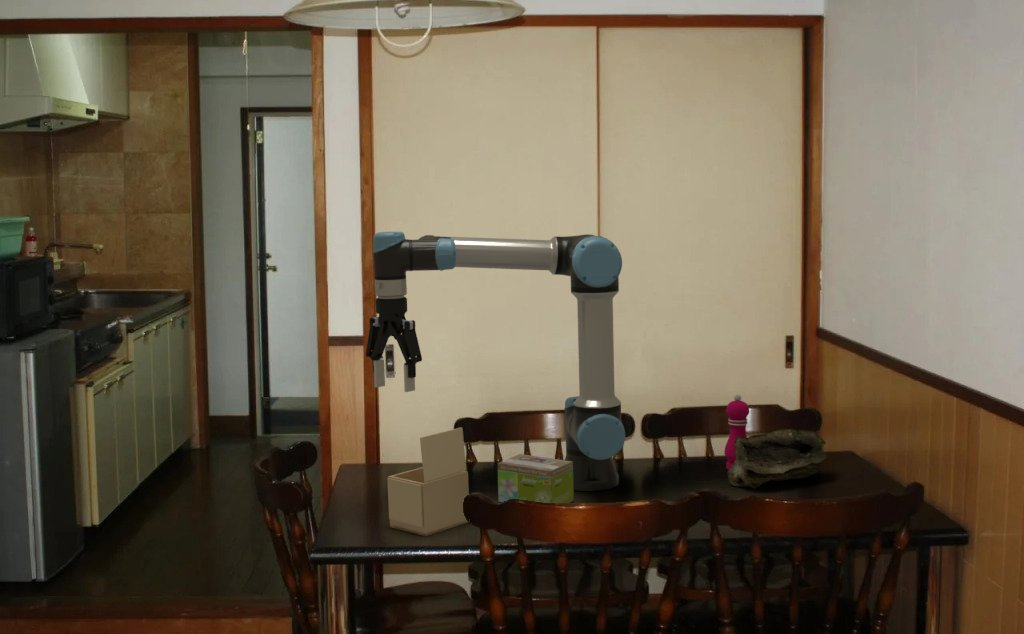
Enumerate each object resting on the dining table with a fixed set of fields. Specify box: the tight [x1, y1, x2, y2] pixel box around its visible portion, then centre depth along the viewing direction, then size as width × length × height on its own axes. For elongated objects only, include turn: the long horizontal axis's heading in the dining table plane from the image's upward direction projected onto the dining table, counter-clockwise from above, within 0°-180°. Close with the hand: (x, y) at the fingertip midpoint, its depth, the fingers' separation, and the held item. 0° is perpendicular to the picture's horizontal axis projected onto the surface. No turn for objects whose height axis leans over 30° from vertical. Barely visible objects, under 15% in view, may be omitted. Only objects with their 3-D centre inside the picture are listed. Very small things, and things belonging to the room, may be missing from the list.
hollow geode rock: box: [727, 427, 829, 489], centre depth 310 cm, size 28×13×15 cm
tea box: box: [497, 453, 575, 504], centre depth 279 cm, size 15×10×15 cm
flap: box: [419, 426, 467, 482], centre depth 275 cm, size 13×1×10 cm, turn 137°
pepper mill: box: [723, 394, 750, 471], centre depth 323 cm, size 7×7×20 cm
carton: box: [386, 466, 470, 537], centre depth 281 cm, size 15×13×12 cm
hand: (394, 388), depth 290 cm, fingers open, 10 cm apart
